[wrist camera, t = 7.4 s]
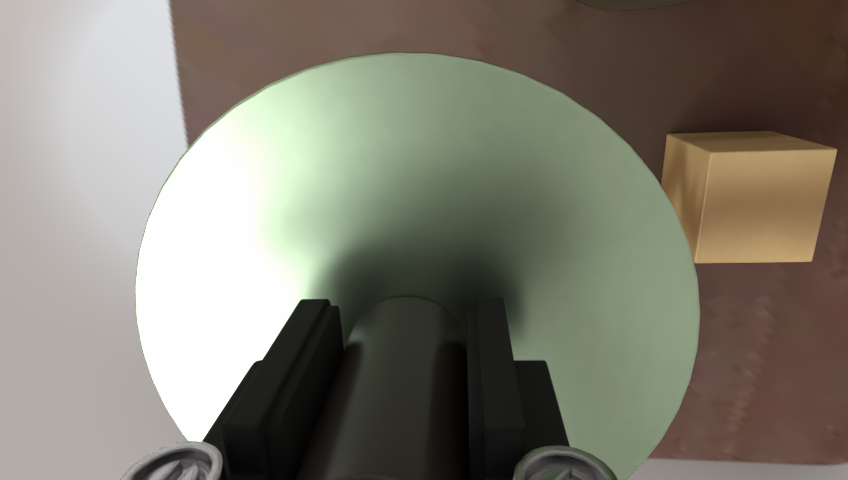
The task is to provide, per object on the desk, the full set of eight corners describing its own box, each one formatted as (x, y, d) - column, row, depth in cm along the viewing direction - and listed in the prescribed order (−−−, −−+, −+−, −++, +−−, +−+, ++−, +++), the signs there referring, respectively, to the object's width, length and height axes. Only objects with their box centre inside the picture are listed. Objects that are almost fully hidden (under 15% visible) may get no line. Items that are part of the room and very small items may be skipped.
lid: (105, 64, 11) (-289, 81, 5) (718, 37, 10) (1067, 21, 4) (210, 514, 15) (56, 802, 9) (649, 524, 14) (781, 849, 8)
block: (666, 133, 26) (711, 152, 22) (770, 130, 26) (838, 148, 21) (655, 227, 28) (694, 263, 23) (752, 225, 28) (812, 262, 23)
